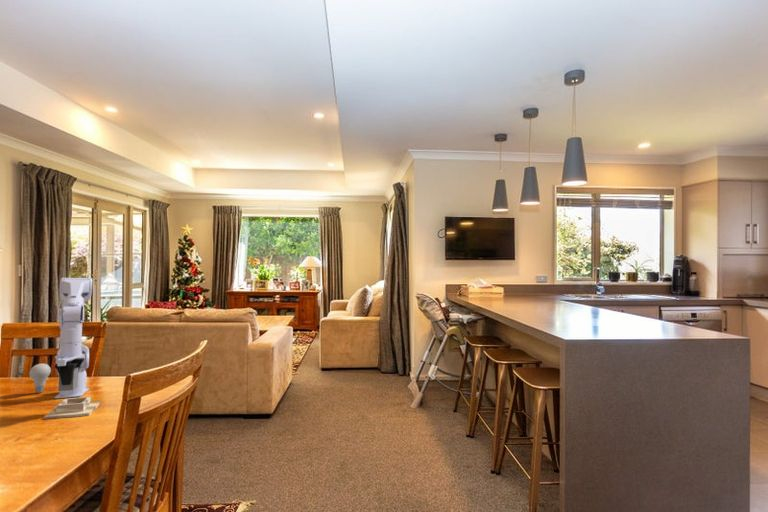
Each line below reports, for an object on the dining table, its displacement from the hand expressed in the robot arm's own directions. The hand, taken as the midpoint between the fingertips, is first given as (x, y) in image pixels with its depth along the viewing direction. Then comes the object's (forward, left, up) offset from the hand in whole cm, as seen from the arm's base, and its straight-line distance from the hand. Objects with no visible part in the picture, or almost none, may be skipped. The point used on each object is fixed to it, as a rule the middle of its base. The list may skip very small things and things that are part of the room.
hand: (69, 382), depth 133 cm
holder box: (0, +2, -9) cm, 10 cm away
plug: (0, 0, -2) cm, 2 cm away
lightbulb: (-26, -17, -10) cm, 32 cm away
